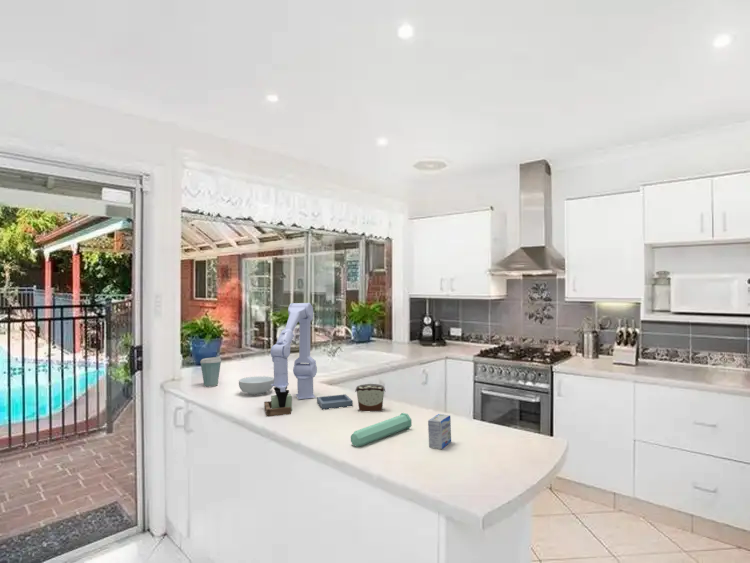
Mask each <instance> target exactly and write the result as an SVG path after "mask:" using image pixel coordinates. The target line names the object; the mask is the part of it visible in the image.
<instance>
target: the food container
mask: <svg viewBox="0 0 750 563" xmlns="http://www.w3.org/2000/svg"><path fill="white" fill-rule="evenodd" d="M355 387H356V388H355V392H354V393H356V396H357V404H358V412H359V411H370V413H371V412H372V413H373V412H375V413H376V412H377V413H378V412H379V413H381V412H383V408H384V407H383V406H384V405H383V404H384V394H385V392H386V388H385V386H384V385H383V384H379V383H365V384H364V383H363V384H360V385H357V386H355Z"/></svg>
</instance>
